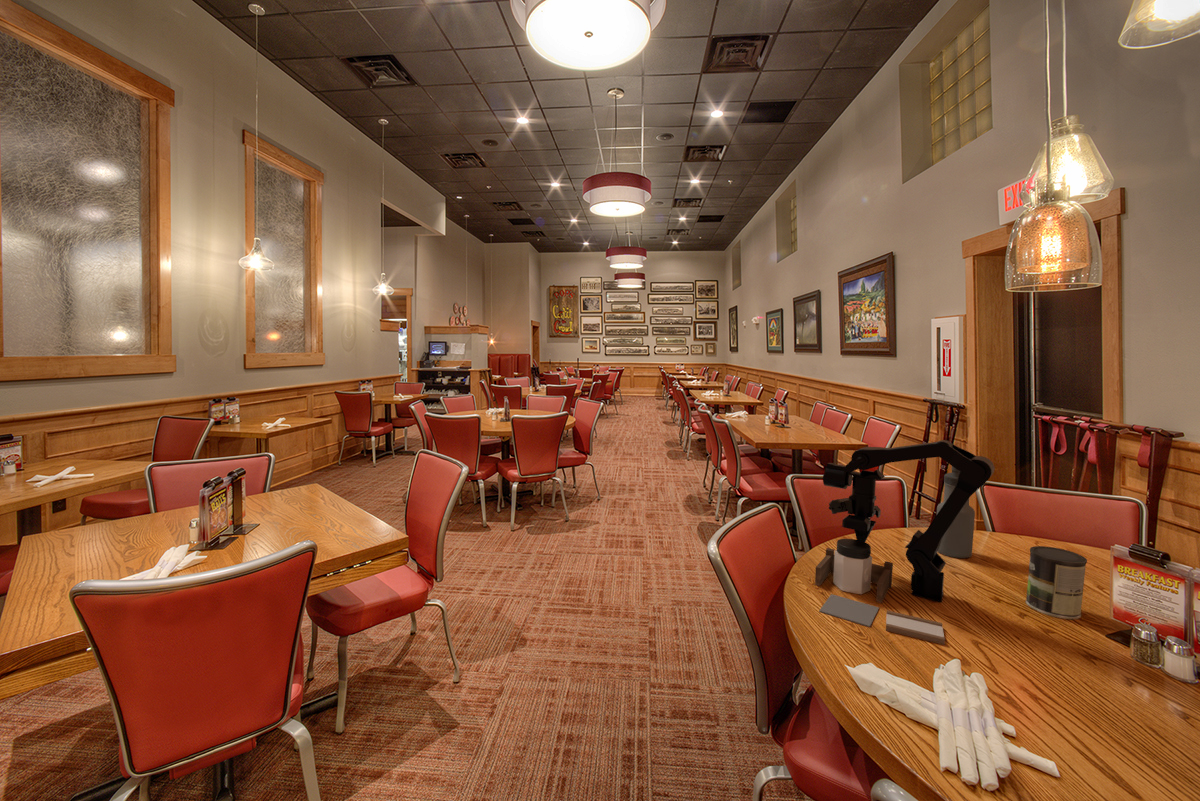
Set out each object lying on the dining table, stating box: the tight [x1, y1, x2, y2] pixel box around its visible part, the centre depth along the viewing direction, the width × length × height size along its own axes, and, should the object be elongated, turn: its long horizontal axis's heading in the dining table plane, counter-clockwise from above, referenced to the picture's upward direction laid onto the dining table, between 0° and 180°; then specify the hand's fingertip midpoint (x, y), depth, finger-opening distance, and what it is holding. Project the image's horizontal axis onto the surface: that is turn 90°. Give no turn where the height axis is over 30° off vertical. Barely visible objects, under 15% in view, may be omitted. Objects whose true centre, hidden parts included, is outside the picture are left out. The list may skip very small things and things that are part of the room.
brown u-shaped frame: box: [814, 547, 894, 604], centre depth 135 cm, size 17×13×6 cm
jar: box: [832, 538, 873, 595], centre depth 134 cm, size 9×8×12 cm
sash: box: [885, 609, 946, 646], centre depth 113 cm, size 11×8×1 cm
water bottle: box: [936, 466, 976, 559], centre depth 157 cm, size 10×10×28 cm
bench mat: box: [819, 594, 880, 628], centre depth 122 cm, size 11×11×1 cm
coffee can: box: [1025, 545, 1088, 620], centre depth 122 cm, size 10×10×14 cm
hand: (860, 546), depth 141 cm, fingers closed
